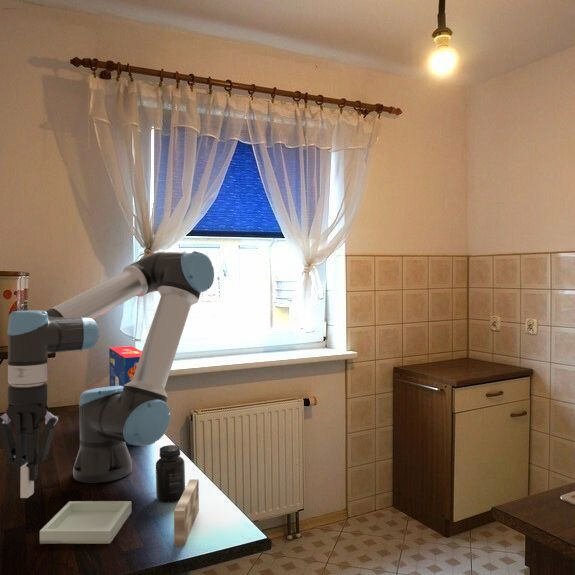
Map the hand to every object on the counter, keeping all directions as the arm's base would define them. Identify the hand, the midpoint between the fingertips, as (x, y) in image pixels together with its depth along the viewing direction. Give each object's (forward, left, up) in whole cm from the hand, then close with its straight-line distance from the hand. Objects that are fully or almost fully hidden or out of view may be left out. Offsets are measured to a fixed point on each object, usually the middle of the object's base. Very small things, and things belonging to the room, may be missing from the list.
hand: (27, 495), depth 110 cm
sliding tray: (0, +13, -7) cm, 15 cm away
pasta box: (-69, 0, -7) cm, 69 cm away
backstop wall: (0, +34, -7) cm, 34 cm away
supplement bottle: (-15, +27, -7) cm, 32 cm away
